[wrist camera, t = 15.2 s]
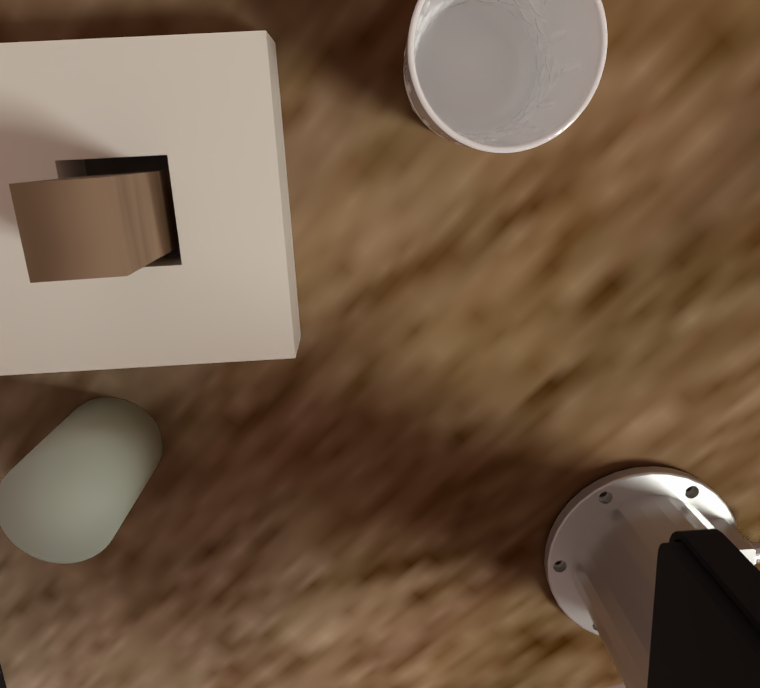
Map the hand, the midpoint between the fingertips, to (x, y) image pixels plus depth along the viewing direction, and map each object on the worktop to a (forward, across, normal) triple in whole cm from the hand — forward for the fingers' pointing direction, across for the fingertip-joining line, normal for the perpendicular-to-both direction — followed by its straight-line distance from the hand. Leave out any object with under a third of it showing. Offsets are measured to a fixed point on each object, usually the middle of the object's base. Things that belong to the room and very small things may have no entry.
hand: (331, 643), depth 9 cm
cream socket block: (+30, +11, -4) cm, 32 cm away
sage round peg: (+30, +15, +10) cm, 35 cm away
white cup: (+31, -7, -10) cm, 33 cm away
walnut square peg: (+30, +11, -4) cm, 32 cm away
